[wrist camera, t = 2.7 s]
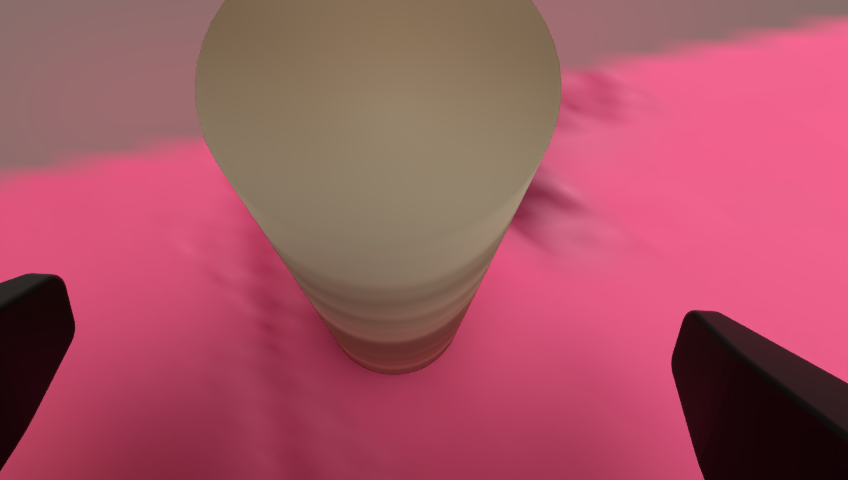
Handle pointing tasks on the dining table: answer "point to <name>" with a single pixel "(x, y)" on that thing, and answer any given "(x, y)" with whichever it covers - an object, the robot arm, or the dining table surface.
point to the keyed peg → (381, 151)
